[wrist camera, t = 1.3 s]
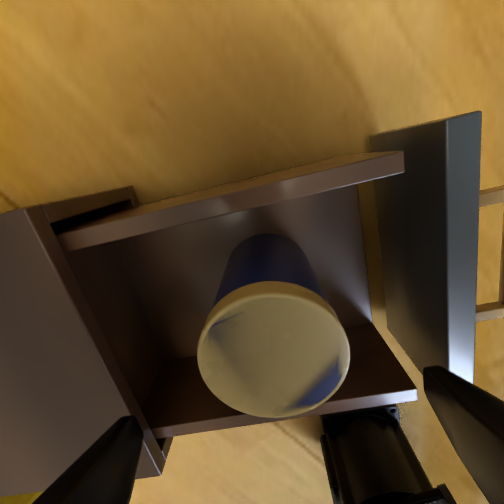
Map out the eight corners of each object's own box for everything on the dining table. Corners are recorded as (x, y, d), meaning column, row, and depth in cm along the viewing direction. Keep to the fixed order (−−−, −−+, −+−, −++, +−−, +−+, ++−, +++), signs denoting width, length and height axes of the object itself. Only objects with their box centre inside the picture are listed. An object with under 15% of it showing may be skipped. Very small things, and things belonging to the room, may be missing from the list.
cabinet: (132, 185, 18) (23, 207, 10) (197, 360, 22) (161, 476, 14) (-113, 248, 20) (-373, 310, 12) (-8, 397, 24) (-142, 516, 16)
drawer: (471, 109, 15) (630, 72, 8) (467, 314, 19) (572, 393, 13) (96, 204, 17) (0, 230, 11) (165, 367, 21) (125, 456, 15)
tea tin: (303, 222, 16) (340, 277, 9) (317, 302, 18) (359, 407, 10) (214, 242, 17) (175, 310, 9) (236, 318, 18) (219, 427, 11)
